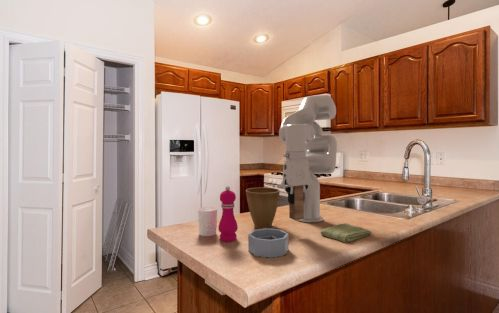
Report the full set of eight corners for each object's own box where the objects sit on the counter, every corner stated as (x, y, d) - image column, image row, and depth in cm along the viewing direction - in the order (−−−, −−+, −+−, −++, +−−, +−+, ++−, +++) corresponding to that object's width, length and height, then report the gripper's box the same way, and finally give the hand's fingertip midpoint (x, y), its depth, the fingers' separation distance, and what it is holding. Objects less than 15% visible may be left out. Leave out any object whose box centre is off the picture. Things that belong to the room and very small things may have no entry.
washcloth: (373, 235, 111) (373, 227, 111) (347, 245, 100) (347, 236, 100) (344, 228, 121) (344, 220, 121) (317, 236, 111) (317, 228, 111)
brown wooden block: (289, 217, 112) (288, 180, 111) (297, 216, 113) (297, 179, 112) (295, 220, 108) (294, 181, 107) (303, 218, 110) (303, 180, 109)
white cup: (198, 237, 109) (198, 211, 108) (196, 231, 116) (196, 207, 116) (219, 235, 111) (218, 210, 110) (216, 230, 118) (215, 206, 118)
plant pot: (240, 224, 127) (240, 188, 127) (268, 220, 134) (268, 186, 134) (256, 233, 114) (255, 193, 114) (286, 227, 121) (286, 190, 120)
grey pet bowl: (244, 247, 98) (243, 231, 97) (275, 242, 103) (275, 227, 103) (260, 260, 86) (260, 242, 86) (294, 253, 91) (294, 236, 91)
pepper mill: (227, 235, 112) (227, 184, 111) (241, 238, 107) (241, 186, 106) (214, 239, 106) (213, 186, 105) (228, 243, 101) (227, 188, 101)
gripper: (282, 157, 102) (283, 207, 104) (319, 155, 109) (319, 202, 111) (272, 156, 109) (272, 203, 110) (307, 154, 116) (308, 198, 117)
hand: (296, 202), depth 110 cm, fingers closed on brown wooden block, 4 cm apart
